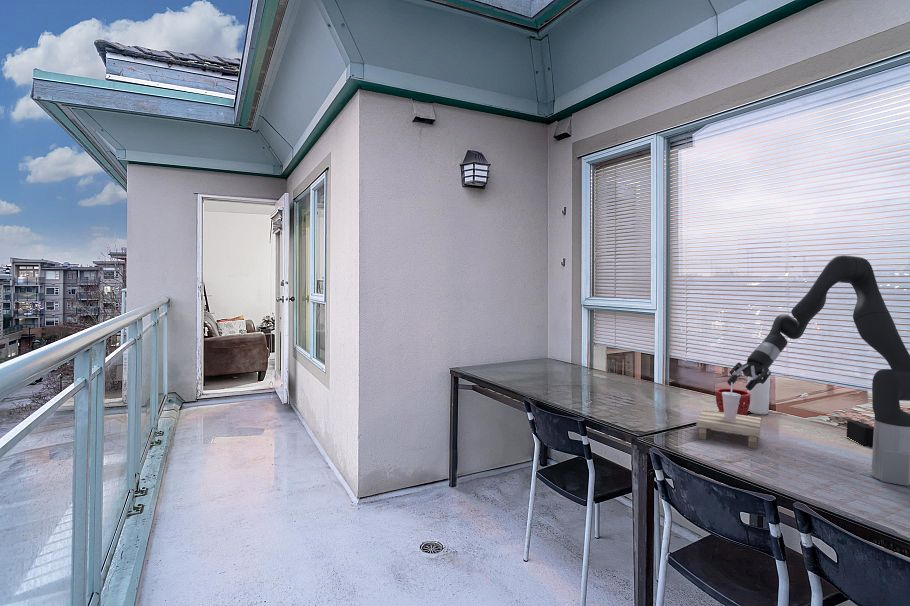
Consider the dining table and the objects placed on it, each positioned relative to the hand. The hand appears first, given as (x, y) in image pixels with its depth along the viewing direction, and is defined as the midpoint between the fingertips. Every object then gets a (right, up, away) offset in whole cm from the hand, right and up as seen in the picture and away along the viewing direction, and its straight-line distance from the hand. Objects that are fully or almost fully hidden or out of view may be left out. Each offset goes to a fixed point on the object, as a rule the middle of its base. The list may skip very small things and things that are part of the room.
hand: (738, 386), depth 184 cm
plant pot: (+14, -19, +28) cm, 36 cm away
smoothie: (-3, -12, 0) cm, 13 cm away
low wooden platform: (-4, -19, 0) cm, 20 cm away
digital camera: (+46, -21, -2) cm, 50 cm away
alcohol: (+32, -19, +40) cm, 54 cm away
